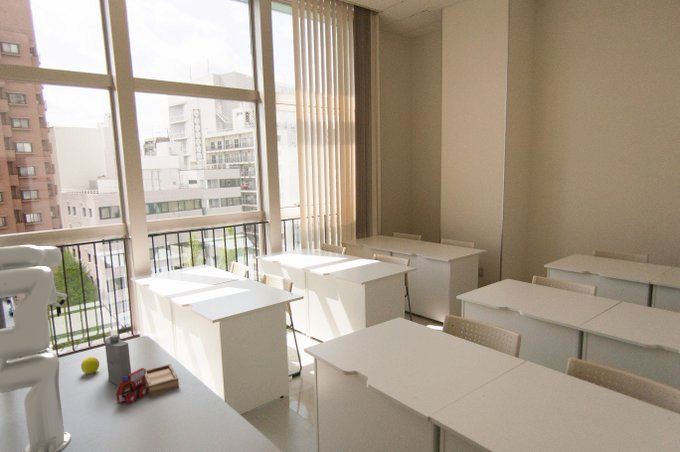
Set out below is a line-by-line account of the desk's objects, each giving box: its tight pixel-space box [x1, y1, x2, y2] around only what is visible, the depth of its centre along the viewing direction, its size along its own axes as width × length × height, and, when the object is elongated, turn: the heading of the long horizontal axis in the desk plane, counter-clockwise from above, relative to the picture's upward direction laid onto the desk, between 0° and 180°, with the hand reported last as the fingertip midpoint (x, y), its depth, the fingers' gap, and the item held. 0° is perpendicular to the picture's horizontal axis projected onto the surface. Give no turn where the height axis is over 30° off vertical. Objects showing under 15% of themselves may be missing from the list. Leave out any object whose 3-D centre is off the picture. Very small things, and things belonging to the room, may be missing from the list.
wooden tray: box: [145, 363, 180, 397], centre depth 177 cm, size 16×11×4 cm
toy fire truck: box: [116, 367, 149, 405], centre depth 166 cm, size 7×12×10 cm, turn 151°
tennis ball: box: [80, 356, 100, 375], centre depth 190 cm, size 7×7×7 cm
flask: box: [104, 334, 132, 386], centre depth 181 cm, size 15×6×20 cm, turn 50°
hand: (44, 318), depth 173 cm, fingers open, 9 cm apart
